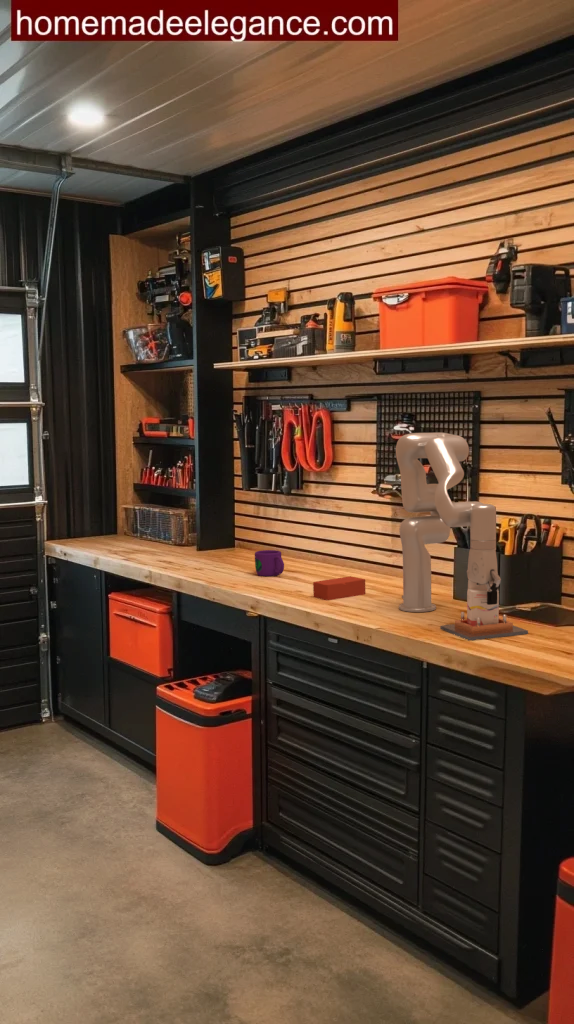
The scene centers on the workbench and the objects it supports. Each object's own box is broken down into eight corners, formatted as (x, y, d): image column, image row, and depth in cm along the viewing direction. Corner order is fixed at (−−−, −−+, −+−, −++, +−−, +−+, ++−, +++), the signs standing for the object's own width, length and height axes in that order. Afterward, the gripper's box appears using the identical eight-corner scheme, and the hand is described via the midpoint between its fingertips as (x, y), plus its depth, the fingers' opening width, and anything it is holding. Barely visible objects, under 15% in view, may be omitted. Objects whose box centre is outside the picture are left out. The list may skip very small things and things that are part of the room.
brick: (350, 591, 346) (350, 576, 346) (365, 595, 339) (365, 579, 338) (313, 597, 336) (312, 581, 336) (327, 601, 329) (327, 584, 328)
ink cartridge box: (471, 630, 272) (471, 582, 270) (466, 626, 277) (466, 579, 275) (499, 629, 272) (499, 580, 271) (494, 625, 277) (494, 578, 276)
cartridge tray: (440, 628, 279) (440, 611, 279) (496, 622, 286) (496, 605, 285) (469, 640, 263) (469, 622, 263) (528, 633, 270) (528, 615, 269)
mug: (250, 574, 390) (249, 551, 389) (272, 571, 396) (271, 549, 395) (272, 579, 376) (271, 556, 375) (294, 576, 382) (294, 553, 381)
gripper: (457, 542, 279) (457, 597, 281) (488, 549, 263) (488, 607, 264) (478, 541, 281) (478, 595, 283) (510, 547, 265) (510, 605, 267)
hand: (483, 601), depth 274 cm, fingers open, 9 cm apart
